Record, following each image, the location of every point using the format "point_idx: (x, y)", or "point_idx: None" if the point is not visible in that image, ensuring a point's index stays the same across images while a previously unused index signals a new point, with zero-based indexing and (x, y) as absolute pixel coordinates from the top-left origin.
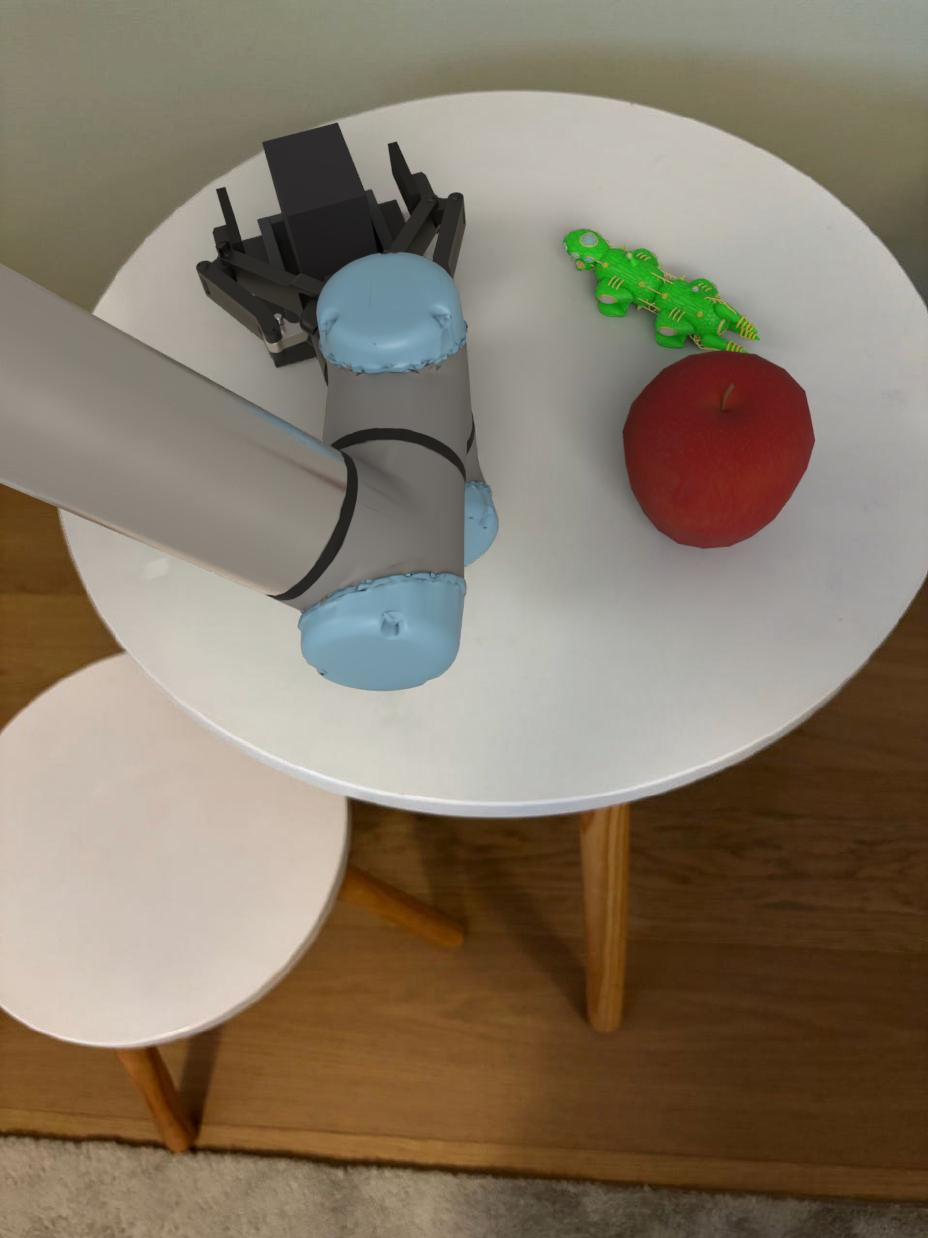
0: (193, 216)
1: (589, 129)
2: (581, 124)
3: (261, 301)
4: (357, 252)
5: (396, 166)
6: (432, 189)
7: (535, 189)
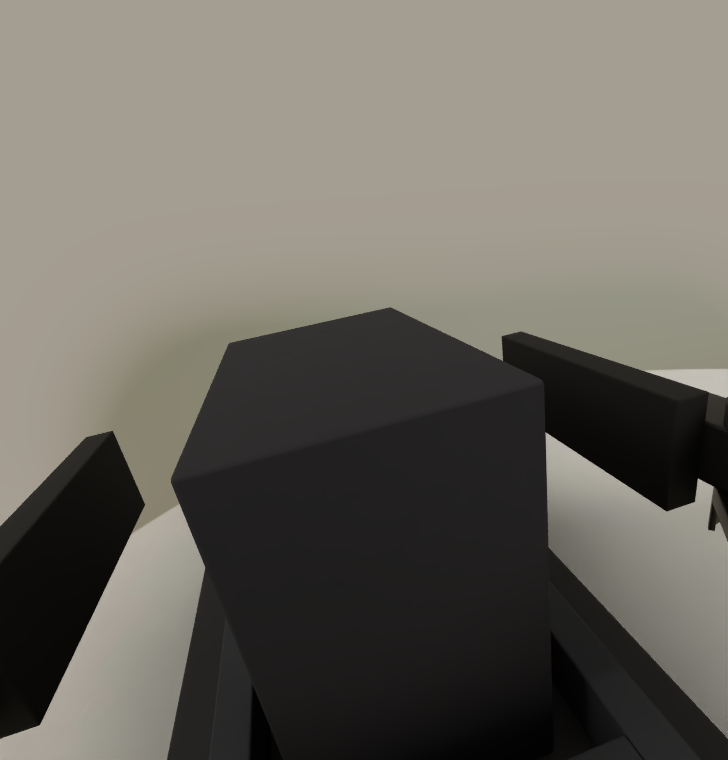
0: (176, 512)
1: (701, 385)
2: (683, 382)
3: (183, 734)
4: (484, 619)
5: (548, 363)
6: (710, 393)
7: None
